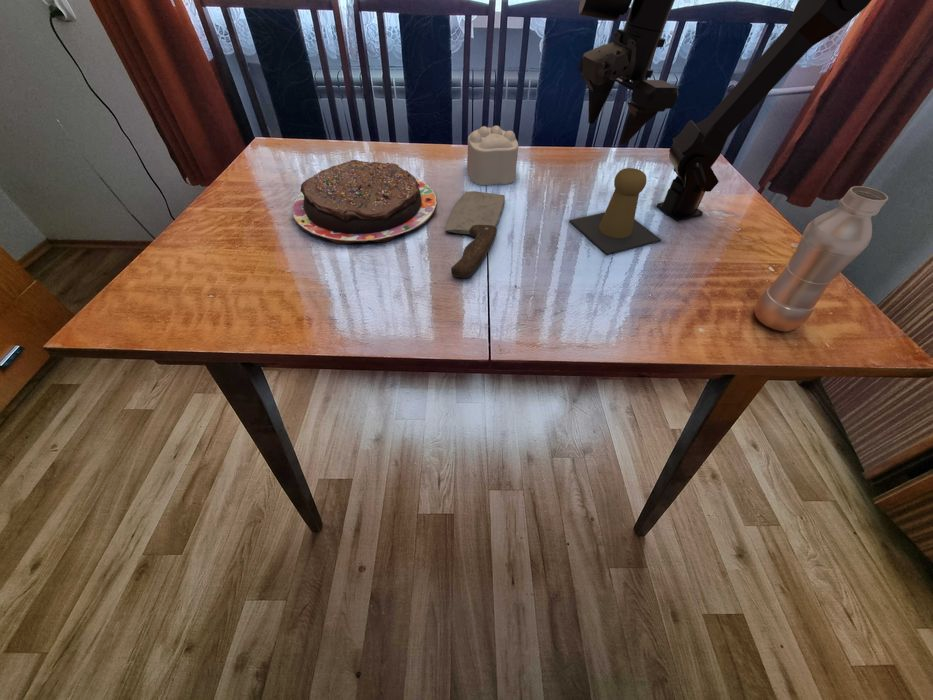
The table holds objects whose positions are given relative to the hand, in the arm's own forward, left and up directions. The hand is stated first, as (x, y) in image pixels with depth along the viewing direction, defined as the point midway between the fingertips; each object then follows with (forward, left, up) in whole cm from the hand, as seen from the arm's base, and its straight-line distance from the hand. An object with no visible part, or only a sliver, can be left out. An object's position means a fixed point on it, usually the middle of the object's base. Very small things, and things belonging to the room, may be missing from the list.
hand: (606, 133), depth 75 cm
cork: (+1, +10, -14) cm, 17 cm away
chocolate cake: (+42, -16, -14) cm, 47 cm away
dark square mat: (+1, +10, -14) cm, 17 cm away
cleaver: (+26, 0, -14) cm, 30 cm away
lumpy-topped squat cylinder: (+12, -22, -14) cm, 28 cm away
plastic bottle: (-6, +39, -14) cm, 42 cm away
